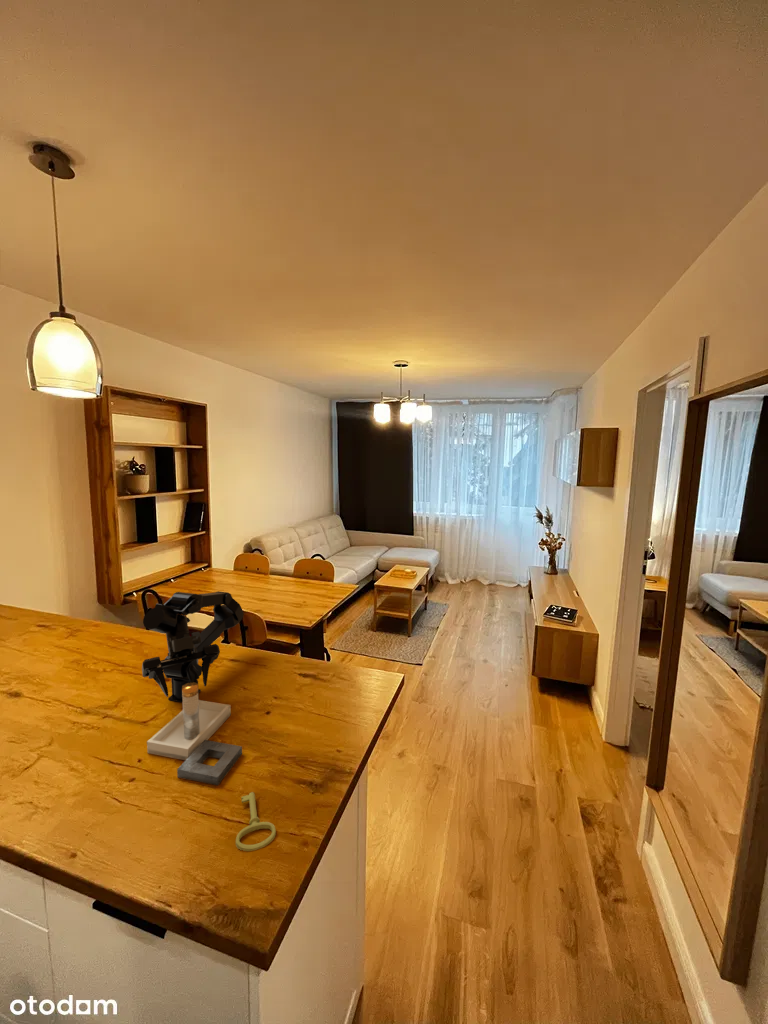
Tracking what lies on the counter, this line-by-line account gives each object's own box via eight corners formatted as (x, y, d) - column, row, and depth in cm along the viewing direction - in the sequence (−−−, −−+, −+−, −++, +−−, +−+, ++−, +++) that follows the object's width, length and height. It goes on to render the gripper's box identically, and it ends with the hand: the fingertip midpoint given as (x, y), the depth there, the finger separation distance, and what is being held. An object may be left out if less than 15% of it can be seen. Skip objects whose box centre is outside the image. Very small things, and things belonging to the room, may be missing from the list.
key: (253, 798, 90) (253, 789, 89) (280, 839, 80) (279, 829, 80) (218, 816, 85) (218, 806, 85) (243, 862, 76) (242, 851, 75)
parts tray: (147, 753, 101) (146, 741, 101) (195, 709, 119) (194, 699, 118) (188, 760, 99) (187, 749, 99) (230, 715, 116) (230, 705, 116)
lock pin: (181, 738, 105) (178, 688, 104) (190, 729, 109) (188, 681, 107) (193, 740, 104) (191, 690, 103) (202, 731, 108) (200, 683, 106)
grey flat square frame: (177, 777, 94) (177, 769, 94) (205, 747, 104) (204, 739, 103) (218, 785, 92) (217, 777, 92) (242, 754, 102) (242, 746, 101)
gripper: (140, 630, 107) (148, 691, 100) (217, 616, 118) (228, 670, 111) (139, 648, 115) (145, 705, 107) (211, 633, 126) (221, 684, 118)
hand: (186, 690), depth 111 cm, fingers open, 9 cm apart
